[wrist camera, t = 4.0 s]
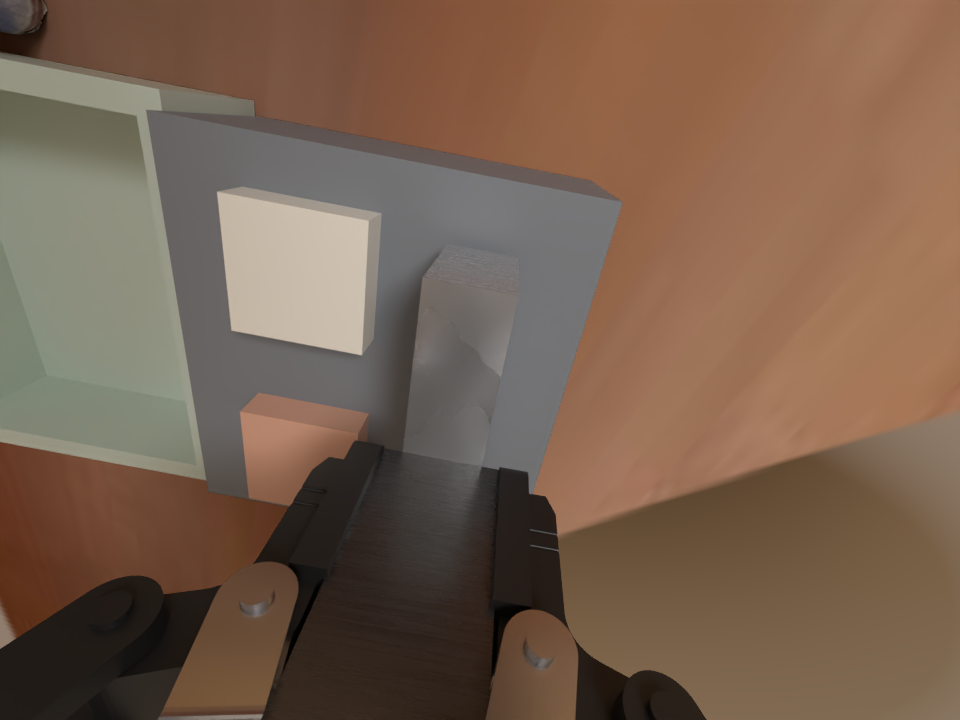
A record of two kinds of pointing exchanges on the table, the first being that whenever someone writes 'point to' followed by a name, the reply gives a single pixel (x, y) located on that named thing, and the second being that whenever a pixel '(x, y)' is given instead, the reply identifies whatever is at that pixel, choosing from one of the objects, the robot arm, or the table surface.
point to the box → (91, 269)
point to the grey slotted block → (402, 264)
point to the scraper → (420, 529)
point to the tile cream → (300, 268)
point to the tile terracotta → (293, 442)
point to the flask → (21, 15)
